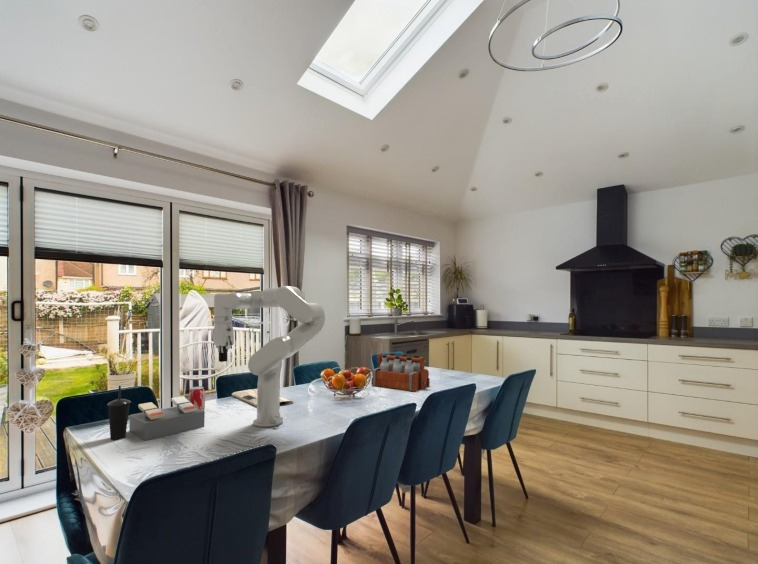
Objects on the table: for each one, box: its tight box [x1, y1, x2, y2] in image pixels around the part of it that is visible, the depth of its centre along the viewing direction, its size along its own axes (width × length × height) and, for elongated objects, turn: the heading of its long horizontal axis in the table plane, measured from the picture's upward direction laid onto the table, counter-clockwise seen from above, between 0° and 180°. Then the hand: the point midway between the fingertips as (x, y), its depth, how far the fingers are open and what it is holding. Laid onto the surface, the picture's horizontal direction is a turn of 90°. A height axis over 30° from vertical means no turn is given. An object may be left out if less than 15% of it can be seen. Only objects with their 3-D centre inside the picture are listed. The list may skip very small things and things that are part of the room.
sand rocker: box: [137, 401, 165, 420], centre depth 163 cm, size 14×5×2 cm, turn 49°
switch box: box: [128, 405, 206, 442], centre depth 170 cm, size 22×23×8 cm
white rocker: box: [171, 395, 197, 413], centre depth 173 cm, size 14×5×2 cm, turn 49°
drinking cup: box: [106, 385, 132, 441], centre depth 157 cm, size 8×8×20 cm
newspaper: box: [231, 388, 294, 408], centre depth 218 cm, size 37×19×3 cm, turn 42°
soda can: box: [188, 385, 206, 411], centre depth 191 cm, size 7×7×12 cm
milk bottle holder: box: [370, 352, 431, 392], centre depth 255 cm, size 21×35×19 cm, turn 57°
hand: (223, 361), depth 182 cm, fingers closed
